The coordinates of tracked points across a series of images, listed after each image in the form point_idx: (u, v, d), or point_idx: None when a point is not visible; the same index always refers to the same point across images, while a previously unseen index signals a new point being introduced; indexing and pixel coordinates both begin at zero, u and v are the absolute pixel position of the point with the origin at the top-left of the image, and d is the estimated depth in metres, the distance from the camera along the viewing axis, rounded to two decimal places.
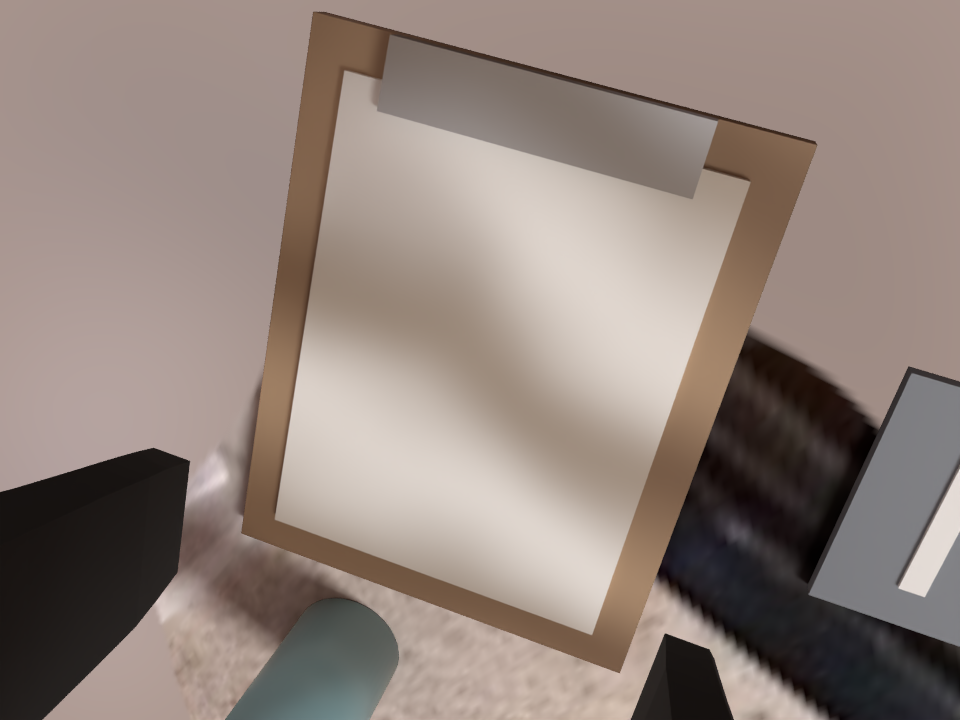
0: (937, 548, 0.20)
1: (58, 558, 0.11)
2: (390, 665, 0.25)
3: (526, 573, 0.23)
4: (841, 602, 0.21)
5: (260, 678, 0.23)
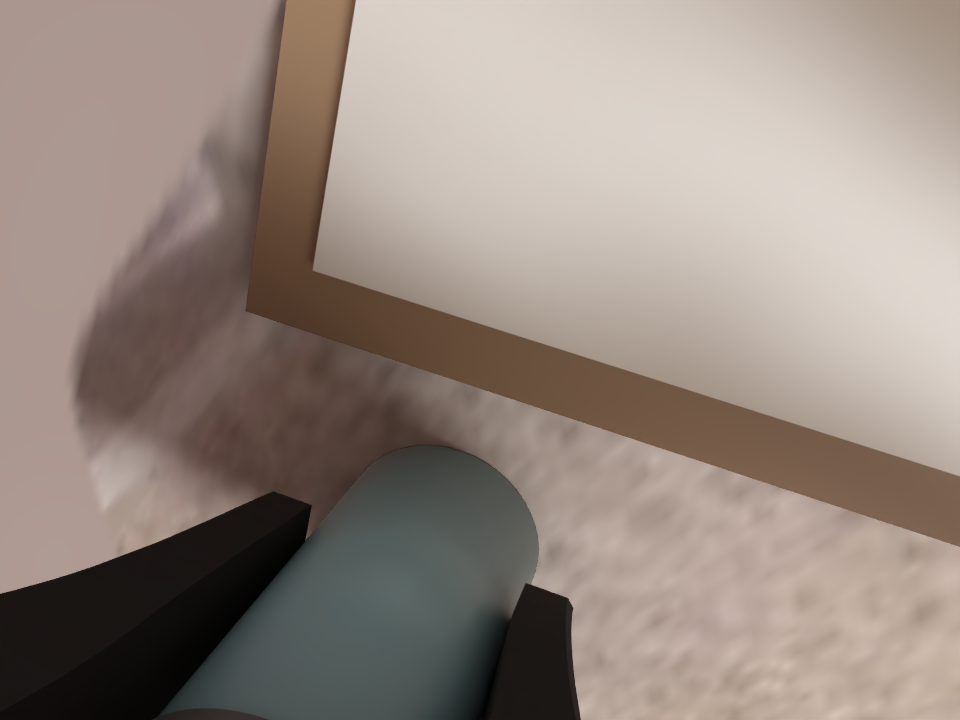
0: None
1: (203, 615, 0.10)
2: (529, 568, 0.13)
3: (851, 350, 0.11)
4: None
5: (285, 574, 0.11)
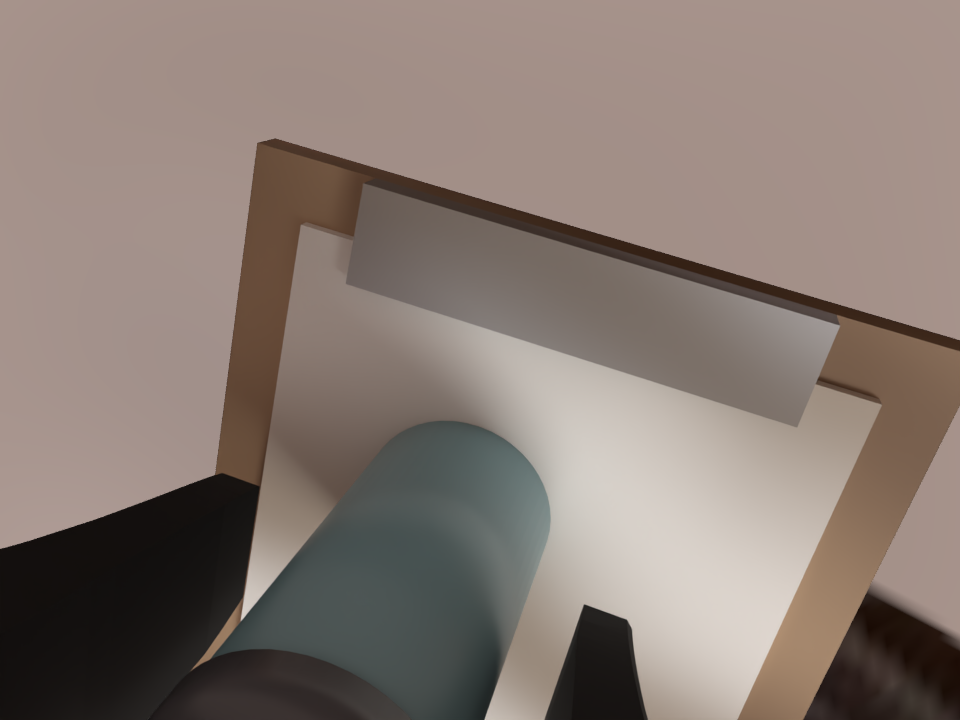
0: None
1: (141, 590, 0.10)
2: (543, 536, 0.14)
3: None
4: None
5: (320, 535, 0.12)
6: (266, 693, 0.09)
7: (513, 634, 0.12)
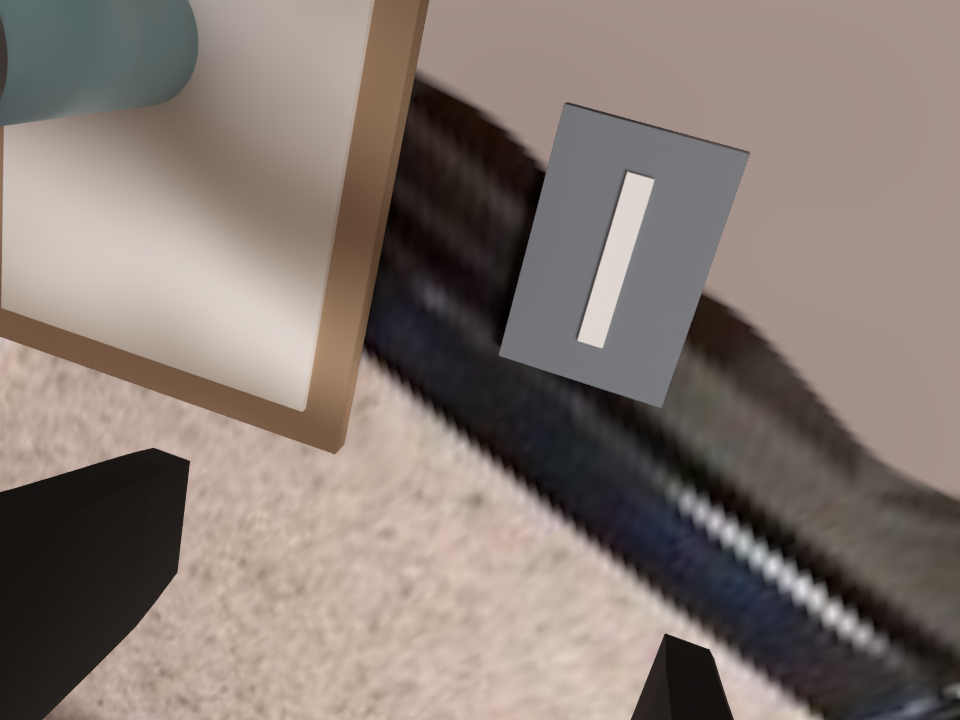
0: (607, 294, 0.20)
1: (58, 558, 0.11)
2: (180, 29, 0.20)
3: (235, 348, 0.23)
4: (529, 362, 0.21)
5: None
6: None
7: (124, 47, 0.18)
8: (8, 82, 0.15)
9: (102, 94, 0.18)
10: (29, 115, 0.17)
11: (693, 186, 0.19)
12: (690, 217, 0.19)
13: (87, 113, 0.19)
